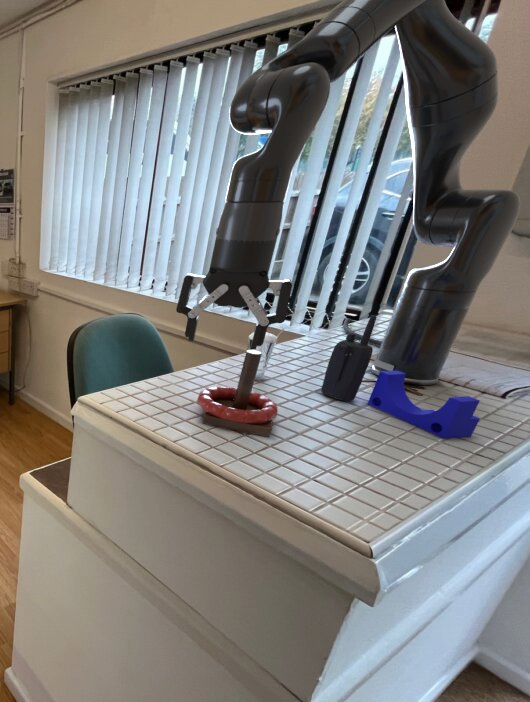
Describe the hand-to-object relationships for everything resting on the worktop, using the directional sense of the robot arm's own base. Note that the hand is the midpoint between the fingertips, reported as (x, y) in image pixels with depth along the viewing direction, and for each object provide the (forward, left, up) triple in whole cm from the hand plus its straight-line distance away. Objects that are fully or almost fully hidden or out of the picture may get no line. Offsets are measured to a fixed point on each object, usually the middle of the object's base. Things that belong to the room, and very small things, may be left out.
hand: (221, 343), depth 72 cm
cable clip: (-14, +28, -12) cm, 34 cm away
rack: (0, +4, -12) cm, 13 cm away
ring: (0, +4, -10) cm, 10 cm away
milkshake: (-22, +7, -12) cm, 26 cm away
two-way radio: (-18, +19, -12) cm, 29 cm away
